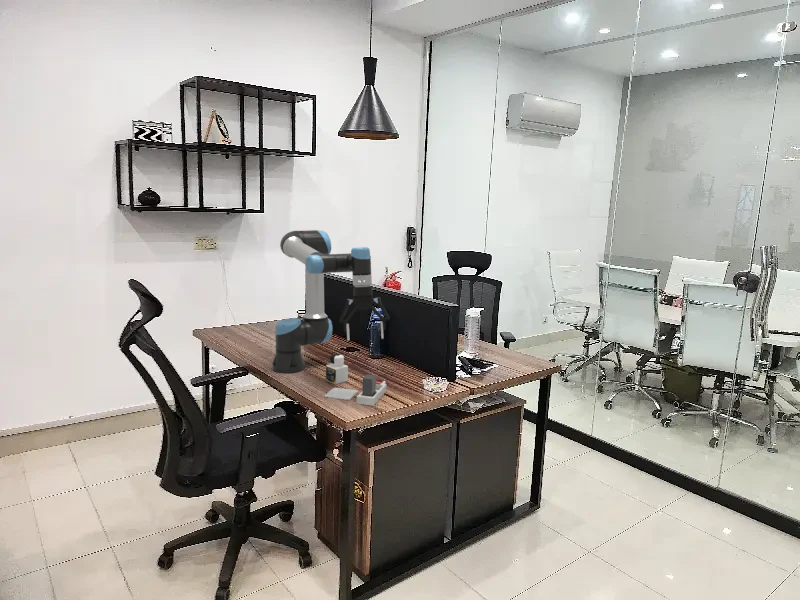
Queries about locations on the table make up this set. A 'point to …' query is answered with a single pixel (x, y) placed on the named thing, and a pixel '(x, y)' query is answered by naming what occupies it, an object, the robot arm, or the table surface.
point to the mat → (341, 393)
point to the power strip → (372, 400)
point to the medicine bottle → (336, 369)
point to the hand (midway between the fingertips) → (365, 339)
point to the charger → (369, 385)
